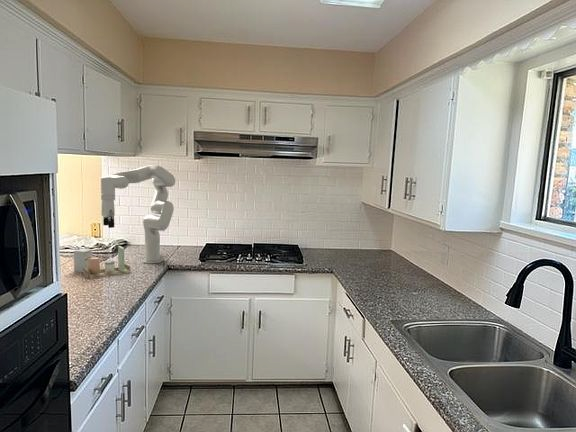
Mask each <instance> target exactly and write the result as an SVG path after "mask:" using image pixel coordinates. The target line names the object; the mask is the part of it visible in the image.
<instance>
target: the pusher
mask: <svg viewBox="0 0 576 432" xmlns="http://www.w3.org/2000/svg"><path fill="white" fill-rule="evenodd" d="M117 259H118V260H117V263H118V265H117V267H118V270H117V271H122V270H127V269H126V268H125V266H124V262H125V247H123V246H121V245H118V246H117Z"/></svg>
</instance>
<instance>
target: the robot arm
mask: <svg viewBox="0 0 576 432" xmlns="http://www.w3.org/2000/svg"><path fill="white" fill-rule="evenodd" d="M148 180H152V184H153V186H154V191H155V193H154V196H153V199H152V202H151V204H150V211H151V213H152V214H148V215H145V216H144V218H143V219H142V224H143V229H144V255H145V256H144V259H142V263H143V264H158V263H159V264H160V263H162V262H163V258H164V259H165V258H168V256H167V254H161V249H160V248H161V236H160V235H161V234H160V232H161V231H163V232H164V231H166V230H168V228H169V226H170V222H171V221H172V220H171V219H172V218H173V215H174V214H173V213H174V209H175V208H174V205H173V203H172V202H171V201H170V200H168V197H169V191H168V189H167V188H171V187H173V186H175V184H176V177H175V176H174V174H172V173H171V172H169V171H168V169H165V168H164V167H162V165H161V166H160V165H151V164H150V165H146V166H142V167H138V168H136V169H131V170H126V171H121V172H116V173H113V174H110V175H107V176H101V177H100V195H101V197H100V199H101V217H102V221H103V223H102V224H103V225H102V226H108V228H109V229H113V228H115V216H116V215H115V212H116V211H115V201H116V189H118V190H119V189H126V188H127V187H129V184H139V183H142V182H145V181H148Z"/></svg>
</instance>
